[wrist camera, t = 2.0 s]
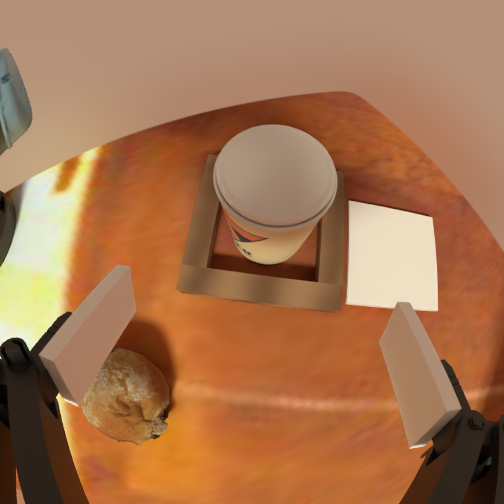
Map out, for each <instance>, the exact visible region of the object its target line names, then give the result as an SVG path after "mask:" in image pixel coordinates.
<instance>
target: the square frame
mask: <svg viewBox="0 0 504 504" xmlns="http://www.w3.org/2000/svg"><path fill="white" fill-rule="evenodd" d="M217 157H218V155H213V154H208V157H207V161H206V165H205V168H204V172H203V176H202V180H201V184H200V187H199V191H198V195H197V199H196V203H195V208H194V212H193V216H192V220H191V224H190V229H189V233H188V238H187V242H186V247H185V251H184V256H183V261H182V266H181V271H180V275H179V281H178V286H177V289H178V290H179V291H180V292H181V293H187V294H194V295H200V296H206V297H213V298H219V299H226V300H233V301H240V302H247V303H255V304H262V305H270V306H278V307H287V308H295V309H304V310H313V311H323V312H333V313H335V312H338V311H340V310H341V301H342V285H343V264H344V172H343V171H337V170H336V173H337V191H336V195H335V198H334V201H333V203H332V205H331V206H330V208H329V209H328V211H327V212H326V213H325V214H324V215H323V216H322V217H321V218H320V220H319V221H318V237H317V254H316V268H315V281H314V282H311V281H303V280H295V279H287V278H279V277H271V276H263V275H256V274H248V273H241V272H233V271H226V270H219V269H212V268H210V264H211V259H212V253H213V248H214V243H215V237H216V232H217V227H218V222H219V217H220V212H221V207H222V205H221V202H220V200H219V198H218V196H217V194H216V191H215V188H214V182H213V171H214V166H215V162H216V159H217Z"/></svg>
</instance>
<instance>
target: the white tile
mask: <svg viewBox="0 0 504 504" xmlns="http://www.w3.org/2000/svg"><path fill="white" fill-rule="evenodd" d="M347 204H348V238H347V273H346V292H345V304H348V305H359V306H370V307H381V308H395V306H396V303H397V301H398V302H410V304H411V305H412V307H413V309H414V310H421V311H438V286H437V263H436V249H435V238H434V229H433V221H432V217H428V216H423V215H419V214H415V213H410V212H405V211H401V210H396V209H391V208H386V207H381V206H376V205H371V204H365V203H360V202H354V201H348V203H347Z"/></svg>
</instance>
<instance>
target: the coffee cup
mask: <svg viewBox="0 0 504 504" xmlns="http://www.w3.org/2000/svg"><path fill="white" fill-rule="evenodd" d="M213 182H214V188H215V191H216V194H217V196H218V198H219V200H220V202H221V205H222V208H223V211H224V214H225V217H226V220H227V223H228V226H229V229H230V232H231V234H232V237H233V240H234V242H235V244H236V246H237V248H238V249H239V251H240V252H241V253H242V254H243V255H244V256H245V257H247V258H248V259H250V260H252V261H254V262H256V263H260V264H277V263H280V262H283V261H285V260H287V259H289V258H290V257H291V256H293V255H294V254H295V253H296V251H297V250H298V249H299V248H300V247H301V245H302V244H303V243H304V241H305V240H306V238H307V237H308V236H309V234H310V233H311V231H312V230H313V229H314V227H315V226H316V224H317V223H318V221H319V220H320V218H321V217H322V216H323V215H324V214H325V213H326V212H327V211H328V209H329V208H330V206H331V205H332V203H333V201H334V198H335V195H336V191H337V173H336V169H335V167H334V163H333V161H332V158H331V157H330V155H329V153H328V152H327V150H326V149H325V148H324V146H323V145H322V144H321V143H320V142H319V141H318V140H316V139H315V138H314V137H312V136H311V135H309V134H307V133H305V132H303V131H301V130H299V129H296V128H293V127H289V126H284V125H276V124H272V125H261V126H256V127H252V128H249V129H247V130H244V131H242V132H240V133H239V134H237V135H236V136H234V137H233V138H232V139H231V140H230V141H228V143H227V144H226V145H225V146H224V148H223V149H222V151H221V152H220V154H219V155H218V157H217V159H216V162H215V166H214V171H213Z"/></svg>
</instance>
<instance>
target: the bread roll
mask: <svg viewBox="0 0 504 504" xmlns="http://www.w3.org/2000/svg"><path fill="white" fill-rule="evenodd" d="M169 390H170V389H169V387H168V384H167V381H166V378H165V376H164V374H163V373H162V372H161V371H160V370H159V369H158V368H157V367H156V365H154V364H152V363H151V362H150V361H149V360H148V359H147V358H146V357H144V356H143V355H141V354H140V353H137V352H133V351H131V350H128V349H127V350H126V349H121V348H117V349H114V350H113V353H110V354H109V355H108V357H107V359H106V360H105V362H104V364H103V365H102V367H101V369H100V370H99V372H98V374H97V375H96V377H95V379H94V380H93V382H92V384H91V386H90V387H89V389H88V391H87V393H86V394H85V396H84V398H83V400H82V401H81V403H80V406H81V409H82V411H83V413H84V414H85V416H86V418H87V419H88V421H89V422H90V423H91V424H92V425H93V426H94V427H96V428H97V429H98V430H99V431H100V432H102V433H103V434H105V435H107V436H108V437H110V438H112V439H115V440H117V441H118V442H119V441H124V442H125V441H127V442H133V443H135V444H136V445H140V444H141V443H143V442H145V441H148V440H151V438H152V439H156V438H158V437H160V435H161V434H162V433H163V432H164V431H165V430H166V429H167V423H165V422H163V421H164V420H165V419H166V418H168V412H167V409H166V408H167V406H168V404H169V401H170V397H169Z"/></svg>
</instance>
